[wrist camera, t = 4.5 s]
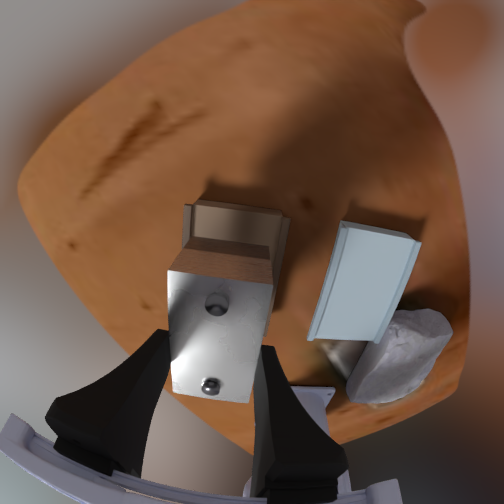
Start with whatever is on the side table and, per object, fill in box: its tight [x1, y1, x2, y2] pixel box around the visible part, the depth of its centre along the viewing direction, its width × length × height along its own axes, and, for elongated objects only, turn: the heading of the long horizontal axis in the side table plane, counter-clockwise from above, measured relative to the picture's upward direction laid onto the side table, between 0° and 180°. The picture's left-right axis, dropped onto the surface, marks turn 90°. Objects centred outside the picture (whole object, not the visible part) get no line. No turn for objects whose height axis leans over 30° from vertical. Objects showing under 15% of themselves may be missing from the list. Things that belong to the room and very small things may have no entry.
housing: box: [168, 236, 273, 403], centre depth 14 cm, size 8×4×5 cm, turn 172°
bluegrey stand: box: [307, 220, 421, 344], centre depth 21 cm, size 7×10×2 cm
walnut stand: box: [182, 199, 291, 337], centre depth 20 cm, size 7×10×2 cm
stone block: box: [346, 309, 453, 403], centre depth 24 cm, size 12×5×10 cm
